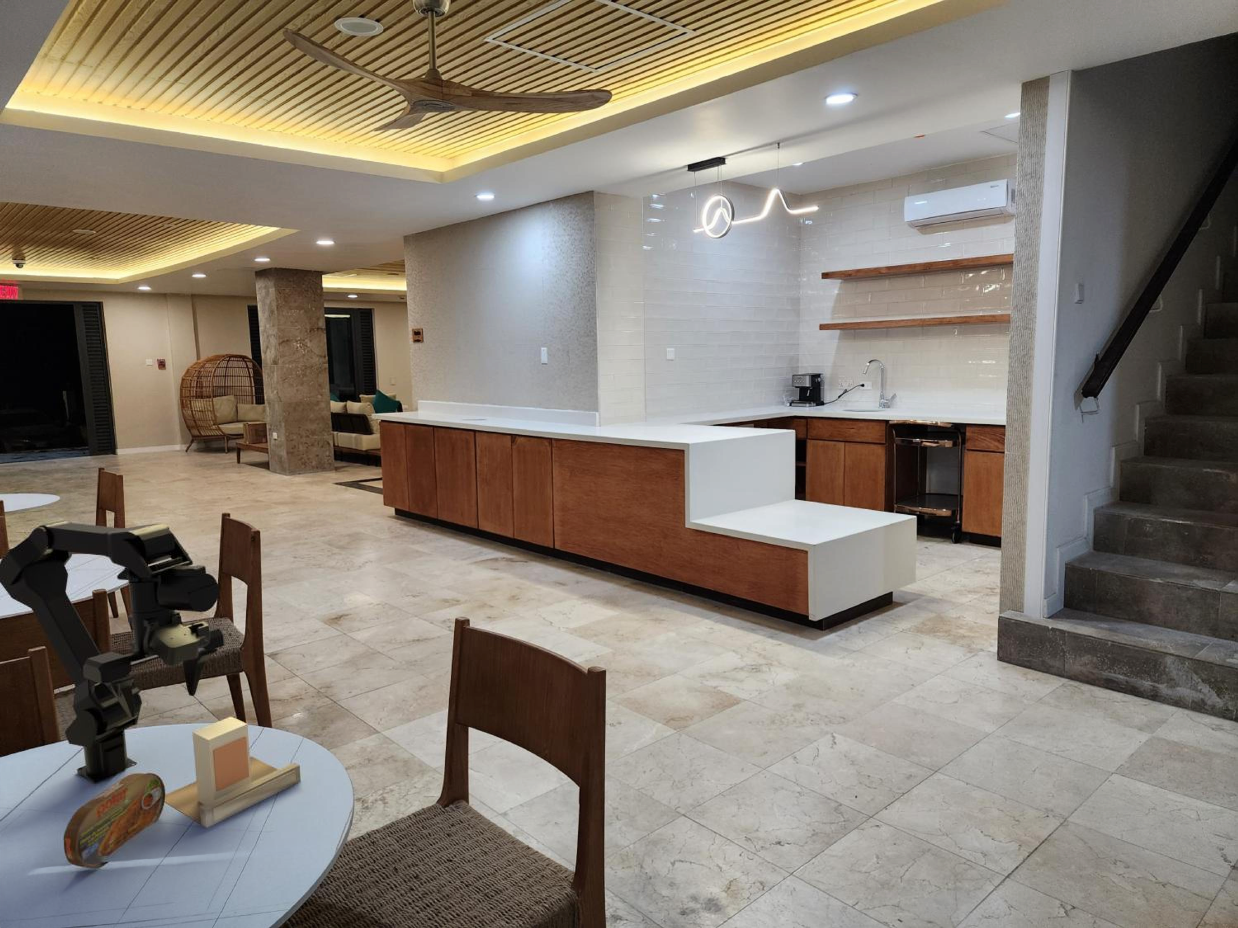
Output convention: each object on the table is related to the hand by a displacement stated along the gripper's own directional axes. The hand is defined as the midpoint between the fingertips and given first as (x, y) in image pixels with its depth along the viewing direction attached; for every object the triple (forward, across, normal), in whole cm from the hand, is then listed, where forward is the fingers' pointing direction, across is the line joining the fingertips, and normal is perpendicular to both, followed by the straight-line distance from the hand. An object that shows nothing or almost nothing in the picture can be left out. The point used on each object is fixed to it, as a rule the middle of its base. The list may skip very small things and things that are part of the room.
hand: (162, 705), depth 124 cm
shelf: (+13, +4, -9) cm, 17 cm away
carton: (+13, +2, -11) cm, 17 cm away
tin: (+14, -12, -9) cm, 20 cm away
